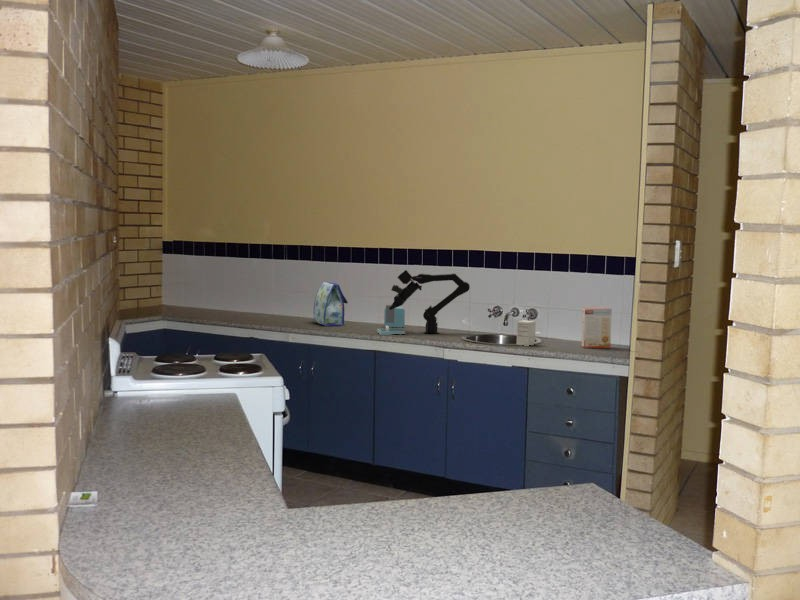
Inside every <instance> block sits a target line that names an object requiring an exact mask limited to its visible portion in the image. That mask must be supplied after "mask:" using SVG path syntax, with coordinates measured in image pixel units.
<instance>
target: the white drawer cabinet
mask: <svg viewBox="0 0 800 600" xmlns="http://www.w3.org/2000/svg"><path fill="white" fill-rule="evenodd" d="M534 344H536V321H535V320H527V319H524V320H518V321H516V345H517V346H522V345H524V347H530V346H529V345H531V346H534Z"/></svg>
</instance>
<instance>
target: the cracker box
mask: <svg viewBox="0 0 800 600" xmlns="http://www.w3.org/2000/svg"><path fill="white" fill-rule="evenodd" d="M581 312H582V313H581V314H582V315H581V317H582V318H581V348H582V349H583V348H584V349H611V343H612V342H611V341H612V340H611V339H612V337H611V336H612V308H611V307H597V306H596V307H595V306H594V307H593V306H591V307H590V306H589V307H586V306H585V307H582V311H581Z"/></svg>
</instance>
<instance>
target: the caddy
mask: <svg viewBox="0 0 800 600" xmlns="http://www.w3.org/2000/svg"><path fill="white" fill-rule="evenodd" d="M376 333H377V334H378V333H379V334H378V335H380V336H391V335H390V334H405V335H406V330H402V329H401V328H389V326H386V327H385V328H376Z"/></svg>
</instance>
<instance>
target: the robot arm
mask: <svg viewBox="0 0 800 600" xmlns="http://www.w3.org/2000/svg"><path fill="white" fill-rule="evenodd" d="M397 279H398V280H399V281H400V282H401V283H402V284H403V285H406V286H405V287H403V288H401V287H400V286H399V285H397V284H396V285H395V284H393V285H392V286H391V290H390V291H392V292H394V293H397V294H396V295H395V296H394V297H393V302H392V303H391V304H390V305H391V307H390V308H389V309H390V310H392V309H394V308H396V307H401V306H403V305H404V304H405V302H407V300H408V299H409V298H410V297H411V296H412V295H414V293H415V292H416V291H417V290H419V291H422V290H423V289H422V287H423V284H427V283H431V282H443V281H446V282H447V281H453V282H454V283H455V284H456V285H457V287H456V288H455V289H454V290H453V291H452V292H451V293H450V294H448V295H447V296H446V297H445V298H443V299H442V300H440V301H439V302H438V303H437V304H436V305H433V306H432V305H429V307H427V308H425V309H424V312H423V314H422V316H423V319H424V320H425V329H424V330H425V331H424V332H423V333H425V334H429V333H431V334H430V335H434V334H433V333H435V334H440V332H439V331H438V322H437V320H438V318H437V316H436V315H437V314H438V313H439V312H440V311H441V310H442V309H444V308H445V307H446V306H447V305H448V304H450V303H452V302H453V300H455V299H457V297H460V296H462V295H463V294H465V293H467V292H469V290H470V286H471V285H470V283H469V282H468V281H464V280H463V279H462V278H461V277H459V276H458V275H457V274H456V273H444V274H443V273H442V274H430V273H419V274H417V275H411V273H410V272H409V271H408V270H407V269H405V270H403V272H402V273H400V274H399V275H398V276H397Z"/></svg>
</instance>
